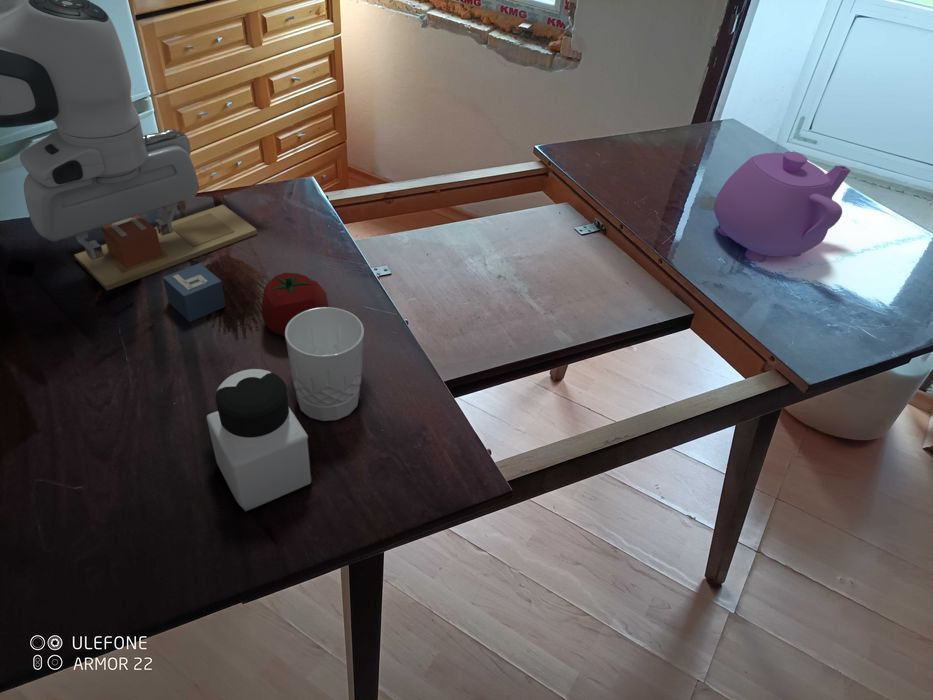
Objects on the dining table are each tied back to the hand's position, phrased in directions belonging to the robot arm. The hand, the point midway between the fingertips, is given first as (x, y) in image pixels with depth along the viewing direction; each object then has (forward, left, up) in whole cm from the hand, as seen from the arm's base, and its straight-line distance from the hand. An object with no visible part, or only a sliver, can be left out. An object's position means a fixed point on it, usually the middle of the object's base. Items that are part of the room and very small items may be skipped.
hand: (131, 244), depth 91 cm
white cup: (+38, +3, -2) cm, 38 cm away
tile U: (0, 0, -1) cm, 1 cm away
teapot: (+57, +78, -2) cm, 97 cm away
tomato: (+25, +8, -2) cm, 26 cm away
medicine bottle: (+42, -8, -2) cm, 43 cm away
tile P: (+14, +1, -2) cm, 14 cm away
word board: (0, +5, -2) cm, 6 cm away
